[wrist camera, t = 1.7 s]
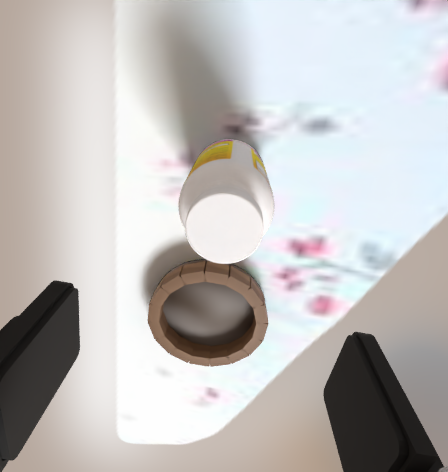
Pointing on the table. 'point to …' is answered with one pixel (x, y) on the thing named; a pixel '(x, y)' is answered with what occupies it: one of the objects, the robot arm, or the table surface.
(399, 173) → the table surface
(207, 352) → the ring holder
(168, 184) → the table surface
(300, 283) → the table surface
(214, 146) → the supplement bottle
